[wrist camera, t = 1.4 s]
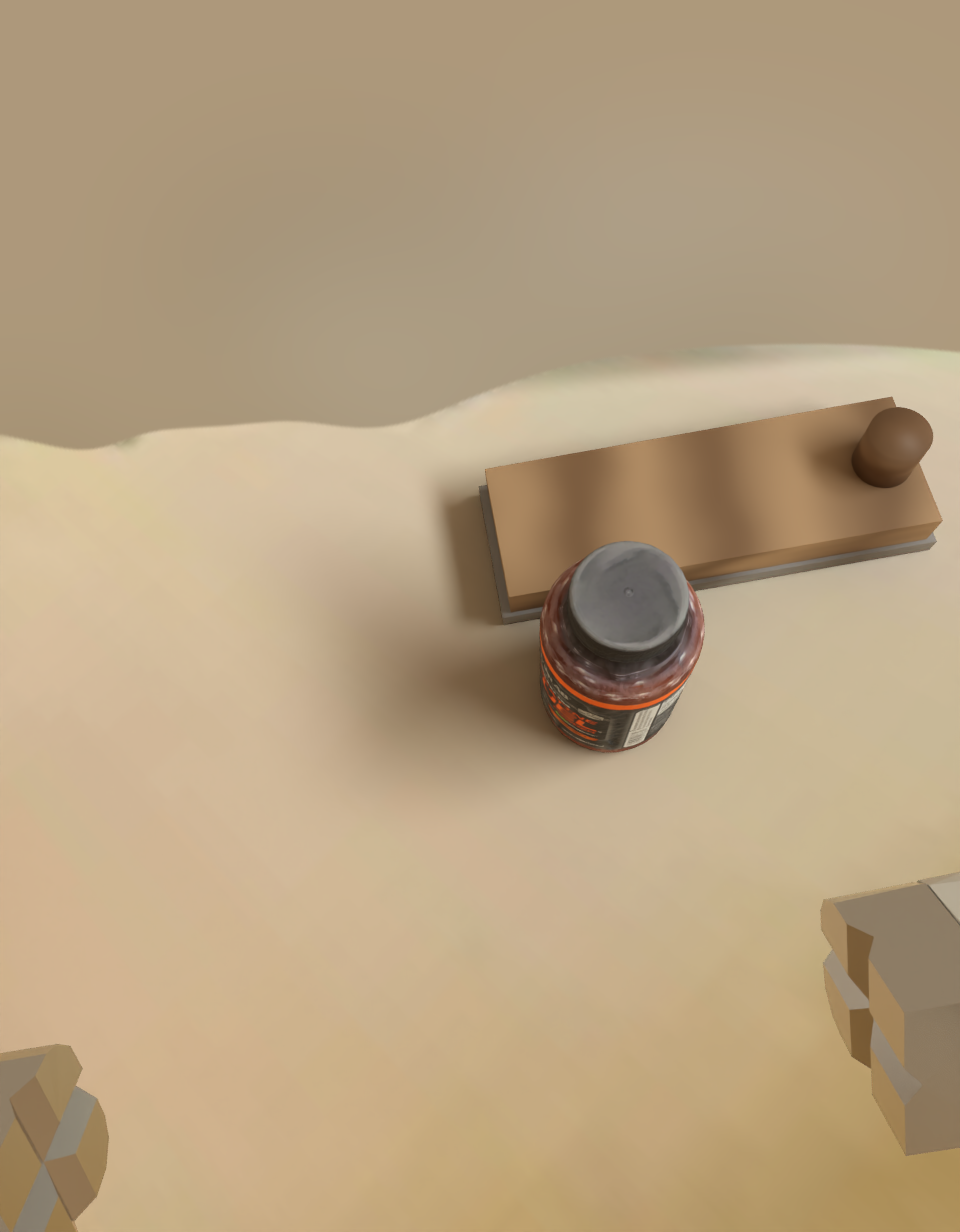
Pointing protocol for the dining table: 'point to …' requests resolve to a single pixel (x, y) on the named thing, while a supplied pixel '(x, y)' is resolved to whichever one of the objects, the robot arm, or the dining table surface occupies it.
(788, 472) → the body
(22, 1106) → the robot arm
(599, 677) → the supplement bottle
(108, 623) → the dining table surface
